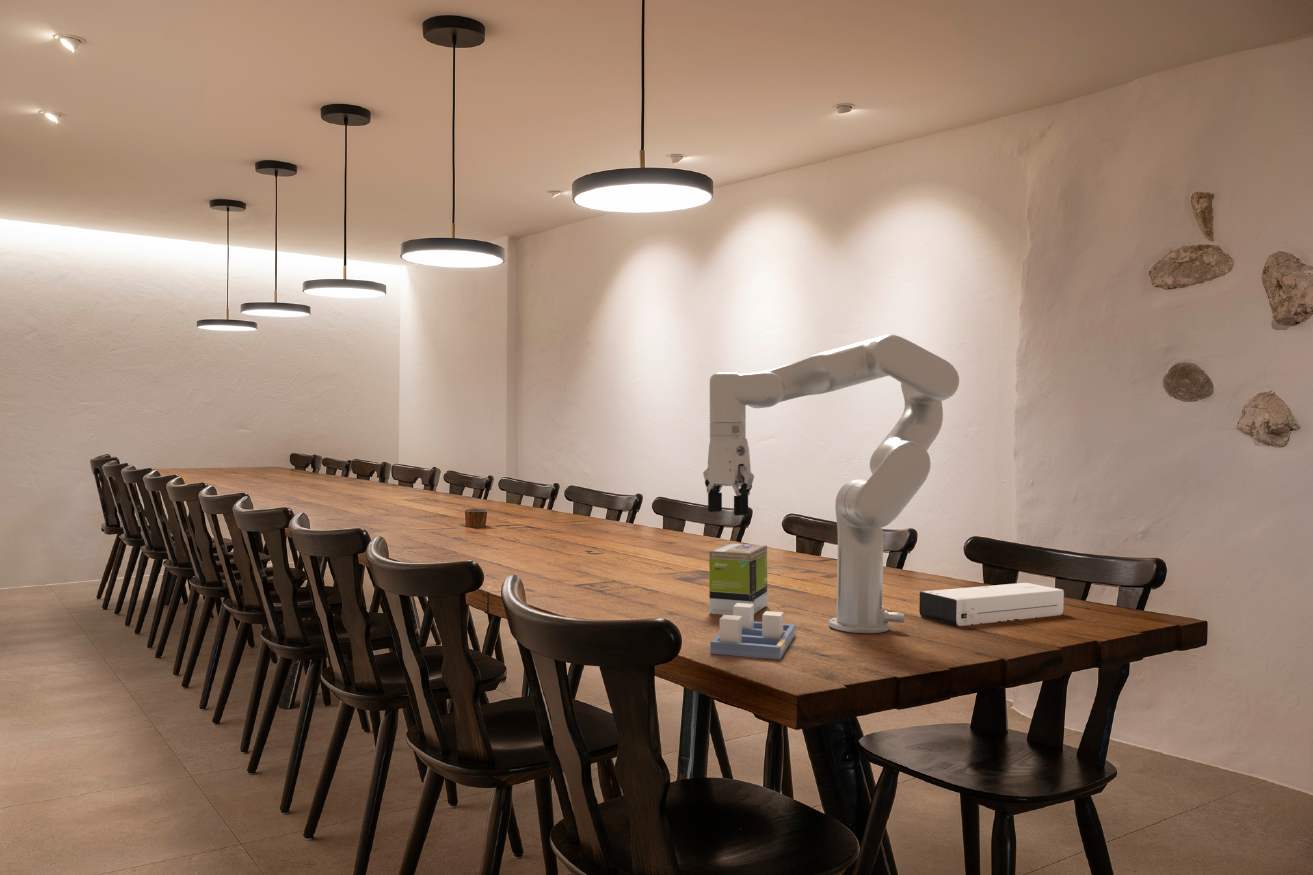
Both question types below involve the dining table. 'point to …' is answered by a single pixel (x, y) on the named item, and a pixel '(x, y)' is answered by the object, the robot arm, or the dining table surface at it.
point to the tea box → (737, 577)
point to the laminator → (991, 603)
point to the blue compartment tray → (755, 643)
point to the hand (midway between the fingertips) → (727, 513)
